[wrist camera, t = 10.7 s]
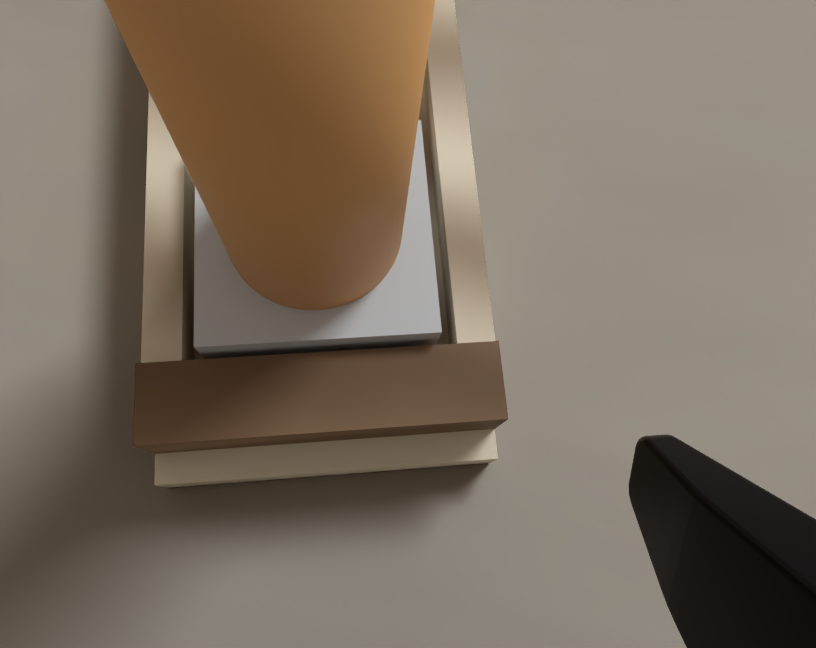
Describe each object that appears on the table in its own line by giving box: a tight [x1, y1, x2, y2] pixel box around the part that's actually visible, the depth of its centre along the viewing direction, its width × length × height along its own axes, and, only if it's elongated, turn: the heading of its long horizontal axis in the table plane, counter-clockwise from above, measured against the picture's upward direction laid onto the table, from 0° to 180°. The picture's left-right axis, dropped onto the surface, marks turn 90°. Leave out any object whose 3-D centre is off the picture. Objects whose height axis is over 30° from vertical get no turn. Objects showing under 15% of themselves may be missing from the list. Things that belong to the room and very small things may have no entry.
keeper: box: [105, 0, 442, 359], centre depth 13 cm, size 6×6×12 cm
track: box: [133, 0, 508, 488], centre depth 20 cm, size 20×9×3 cm, turn 5°
